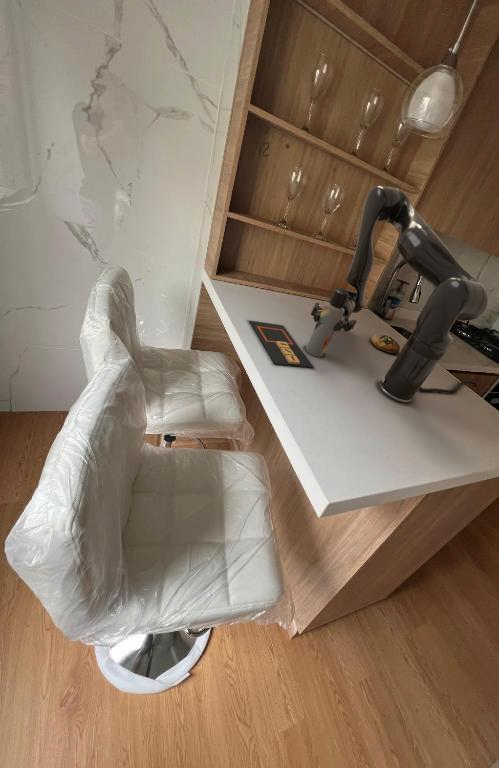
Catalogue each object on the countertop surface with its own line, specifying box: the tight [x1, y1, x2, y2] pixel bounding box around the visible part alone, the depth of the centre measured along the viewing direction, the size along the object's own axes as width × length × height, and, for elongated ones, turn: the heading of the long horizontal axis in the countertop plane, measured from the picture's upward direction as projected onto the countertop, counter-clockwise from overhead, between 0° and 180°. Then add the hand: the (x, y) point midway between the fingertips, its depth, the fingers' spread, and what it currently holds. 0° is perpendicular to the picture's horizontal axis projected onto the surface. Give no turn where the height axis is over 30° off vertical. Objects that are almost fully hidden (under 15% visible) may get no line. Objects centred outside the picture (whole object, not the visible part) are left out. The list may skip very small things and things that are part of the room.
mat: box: [249, 320, 314, 369], centre depth 97 cm, size 24×12×1 cm, turn 17°
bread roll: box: [370, 333, 401, 354], centre depth 121 cm, size 11×11×5 cm
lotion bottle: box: [305, 287, 349, 358], centre depth 94 cm, size 6×6×20 cm
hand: (326, 323), depth 92 cm, fingers closed on lotion bottle, 5 cm apart
